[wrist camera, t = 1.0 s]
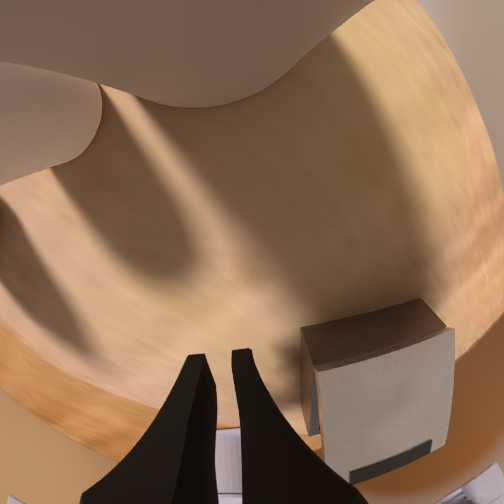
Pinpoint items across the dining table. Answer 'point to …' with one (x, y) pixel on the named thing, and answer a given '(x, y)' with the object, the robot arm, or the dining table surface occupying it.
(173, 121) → the dining table surface
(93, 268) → the dining table surface
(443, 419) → the lid
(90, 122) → the can
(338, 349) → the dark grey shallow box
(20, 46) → the cylinder vase
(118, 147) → the dining table surface
